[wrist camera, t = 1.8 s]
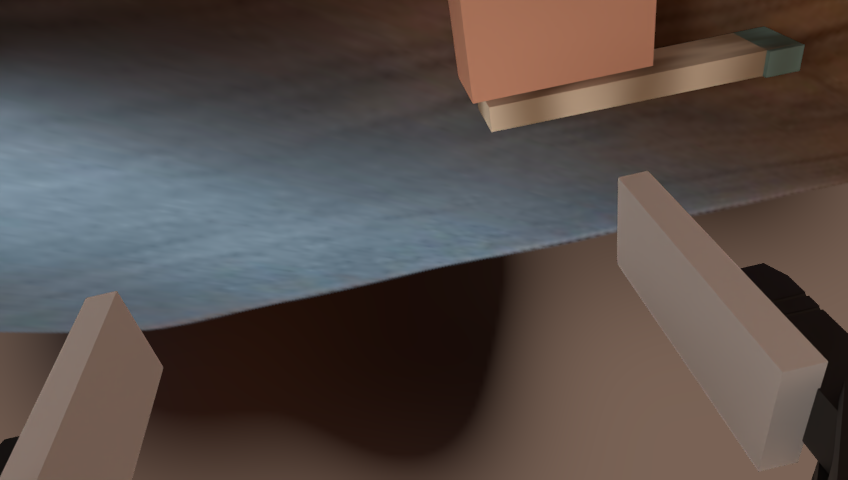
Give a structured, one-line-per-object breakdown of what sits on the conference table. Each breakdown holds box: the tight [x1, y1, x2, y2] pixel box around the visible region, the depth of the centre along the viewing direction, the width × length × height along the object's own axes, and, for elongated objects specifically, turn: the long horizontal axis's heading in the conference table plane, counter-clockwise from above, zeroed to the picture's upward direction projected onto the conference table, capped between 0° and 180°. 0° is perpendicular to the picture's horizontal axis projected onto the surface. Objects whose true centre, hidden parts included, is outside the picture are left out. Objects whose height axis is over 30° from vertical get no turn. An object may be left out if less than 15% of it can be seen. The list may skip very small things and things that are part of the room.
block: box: [448, 0, 657, 104], centre depth 33 cm, size 10×7×4 cm
